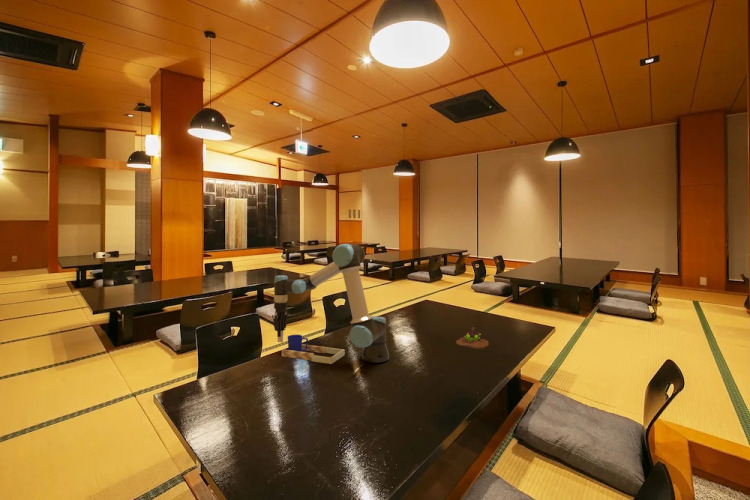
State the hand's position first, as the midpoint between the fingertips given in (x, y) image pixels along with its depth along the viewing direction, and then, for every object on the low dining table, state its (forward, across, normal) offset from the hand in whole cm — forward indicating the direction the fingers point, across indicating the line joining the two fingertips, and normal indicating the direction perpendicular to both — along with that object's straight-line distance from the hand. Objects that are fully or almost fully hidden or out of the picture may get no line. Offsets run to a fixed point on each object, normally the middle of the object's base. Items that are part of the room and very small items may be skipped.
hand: (280, 341), depth 190 cm
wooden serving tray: (+6, 0, +16) cm, 17 cm away
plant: (+5, -55, +105) cm, 119 cm away
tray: (+5, 0, +32) cm, 32 cm away
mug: (+6, 0, +12) cm, 14 cm away
